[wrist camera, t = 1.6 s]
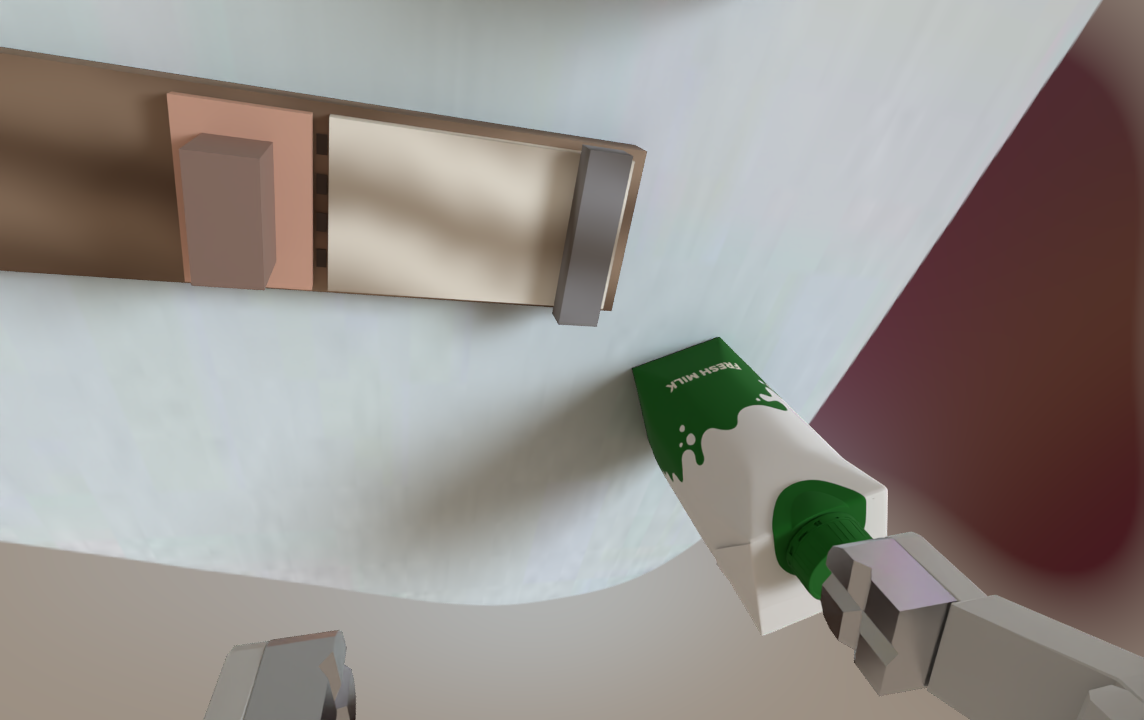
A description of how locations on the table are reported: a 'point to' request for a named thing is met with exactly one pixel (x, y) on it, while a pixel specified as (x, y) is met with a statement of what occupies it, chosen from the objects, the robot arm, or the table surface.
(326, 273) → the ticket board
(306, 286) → the pink plate with handle
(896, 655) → the robot arm
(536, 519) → the table surface
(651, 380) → the milk carton
